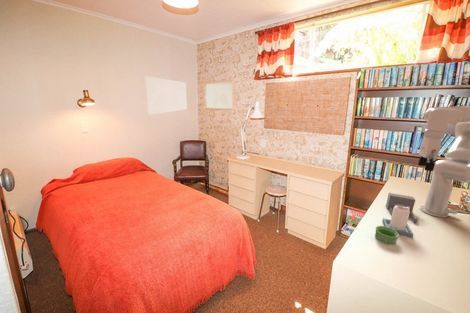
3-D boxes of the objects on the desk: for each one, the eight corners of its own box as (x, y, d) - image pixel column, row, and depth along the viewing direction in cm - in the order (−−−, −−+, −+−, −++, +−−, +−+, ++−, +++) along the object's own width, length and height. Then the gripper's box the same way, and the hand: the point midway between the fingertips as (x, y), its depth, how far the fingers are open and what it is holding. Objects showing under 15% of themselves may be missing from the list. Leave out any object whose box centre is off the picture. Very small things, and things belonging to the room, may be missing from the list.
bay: (409, 210, 133) (413, 196, 131) (418, 223, 119) (422, 208, 116) (385, 206, 138) (388, 192, 135) (391, 218, 123) (394, 203, 121)
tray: (406, 226, 115) (407, 223, 115) (412, 237, 106) (413, 234, 105) (382, 221, 119) (383, 218, 119) (386, 231, 110) (387, 228, 109)
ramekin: (369, 236, 106) (371, 227, 105) (382, 232, 110) (384, 224, 108) (388, 247, 98) (390, 238, 97) (401, 243, 102) (403, 234, 100)
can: (407, 232, 109) (413, 210, 106) (393, 230, 110) (398, 208, 107) (400, 225, 115) (406, 204, 112) (387, 224, 116) (392, 202, 113)
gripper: (418, 131, 118) (411, 162, 122) (431, 136, 103) (421, 171, 107) (436, 133, 115) (428, 164, 119) (452, 137, 100) (441, 174, 104)
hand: (425, 168), depth 113 cm, fingers open, 9 cm apart
